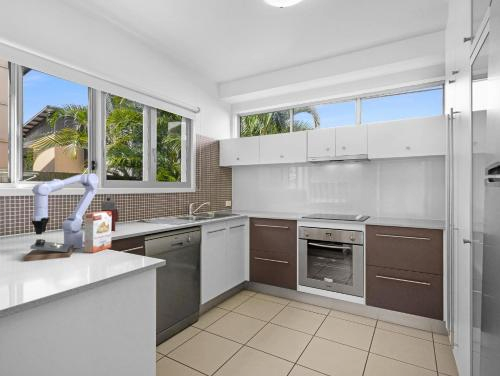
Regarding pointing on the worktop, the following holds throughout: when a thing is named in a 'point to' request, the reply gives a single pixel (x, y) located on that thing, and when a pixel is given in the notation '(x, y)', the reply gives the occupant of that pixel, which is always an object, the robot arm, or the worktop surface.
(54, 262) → the worktop surface
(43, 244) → the plate
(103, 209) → the toy vending machine
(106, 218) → the cracker box
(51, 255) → the base
